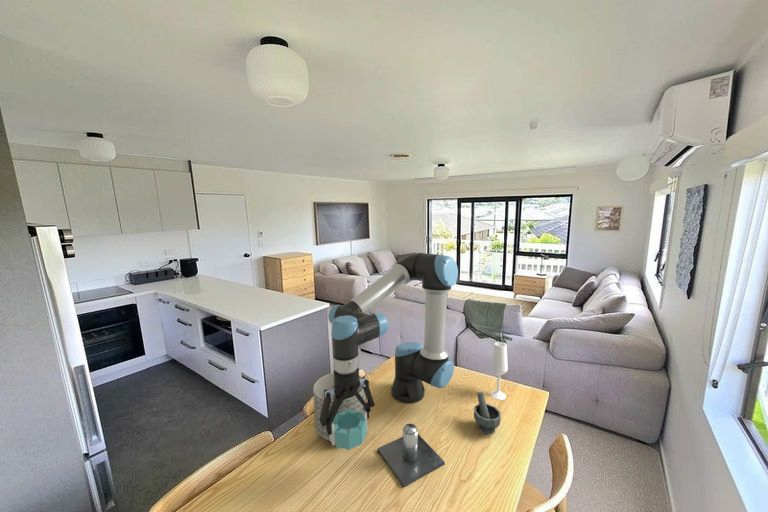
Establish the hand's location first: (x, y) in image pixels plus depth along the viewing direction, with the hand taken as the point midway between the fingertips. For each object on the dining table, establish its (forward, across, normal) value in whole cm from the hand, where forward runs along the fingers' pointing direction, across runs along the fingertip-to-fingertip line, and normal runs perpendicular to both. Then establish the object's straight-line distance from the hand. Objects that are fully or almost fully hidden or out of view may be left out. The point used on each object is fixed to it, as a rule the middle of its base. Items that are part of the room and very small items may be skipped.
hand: (349, 435), depth 91 cm
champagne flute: (+14, +73, +3) cm, 75 cm away
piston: (+13, +19, -5) cm, 24 cm away
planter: (+13, +4, +19) cm, 23 cm away
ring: (0, 0, 0) cm, 0 cm away
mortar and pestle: (+14, +52, -8) cm, 55 cm away
